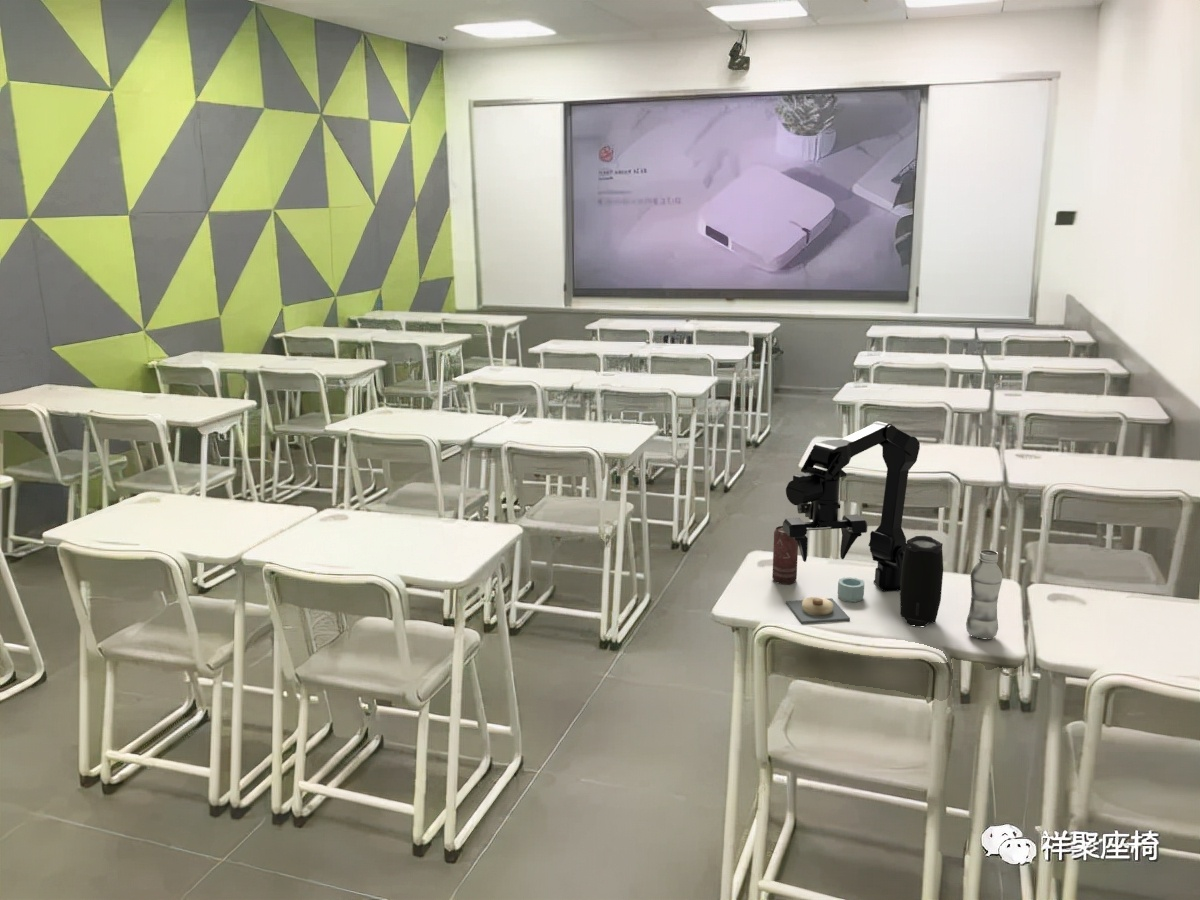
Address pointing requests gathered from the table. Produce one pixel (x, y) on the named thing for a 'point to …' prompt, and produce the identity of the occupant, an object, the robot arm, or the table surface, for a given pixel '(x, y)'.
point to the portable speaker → (921, 580)
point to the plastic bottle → (984, 596)
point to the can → (784, 557)
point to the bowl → (850, 589)
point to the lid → (817, 606)
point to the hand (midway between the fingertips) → (823, 559)
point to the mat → (807, 618)
